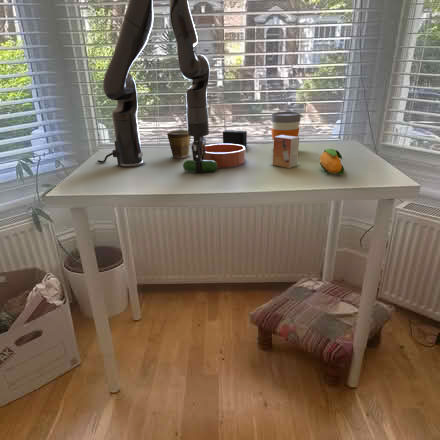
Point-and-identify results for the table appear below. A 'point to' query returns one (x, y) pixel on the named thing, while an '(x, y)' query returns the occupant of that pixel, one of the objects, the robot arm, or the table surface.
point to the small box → (285, 151)
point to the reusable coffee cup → (285, 124)
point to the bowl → (225, 154)
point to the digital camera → (235, 137)
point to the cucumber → (206, 165)
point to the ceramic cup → (179, 143)
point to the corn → (331, 161)
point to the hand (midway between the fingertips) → (200, 169)
